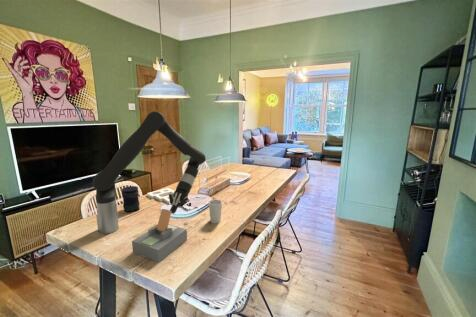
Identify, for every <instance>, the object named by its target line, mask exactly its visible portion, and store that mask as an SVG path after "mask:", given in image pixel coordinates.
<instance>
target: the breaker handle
mask: <svg viewBox="0 0 476 317" xmlns="http://www.w3.org/2000/svg"><path fill="white" fill-rule="evenodd" d="M171 212H172V211H171V210H170V209H166V208H161V211H160V215H159V218H158V222H157V224H158V226H157V230H156V233H159V234H161V233H162V232H164V231H165V230H167V228H168V224H169V223H170V219H171V214H172V213H171Z"/></svg>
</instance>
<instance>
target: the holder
mask: <svg viewBox="0 0 476 317" xmlns="http://www.w3.org/2000/svg"><path fill="white" fill-rule="evenodd" d="M175 191H176V190H173V189H171V188H169V187H167V188H162V189H157V190H154V191H150V192H147V193H146V194H147V196H146V197H149V198H150V199H151V200H154V199H156V200H157V201H158V202H165V203H166V204H168V203H169V202H170V199H169V194H173V193H174V192H175Z"/></svg>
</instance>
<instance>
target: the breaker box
mask: <svg viewBox="0 0 476 317" xmlns="http://www.w3.org/2000/svg"><path fill="white" fill-rule="evenodd" d="M157 226H158V223H157V224H155V225H154V226H152V227H151V228H149V229H148V231H146V232H144V233H143V234H142V235H140V236H138V237H136V238H135V239H133V240H131V245H132V248H131V249H132V253H133V254H135V255H139V256H141V257H144V258H146V259H149V260H152V261H155V262H157V263H160V262H161V261H163V260H164V259H165V258H166V257H167V256H169V255H170V254H171V253H173V252H174V251H175V250H176V249H177V248H178V247H180V246H181V245H183V244H184V243H185V242H186V241H187V240H188V230H187V229H186V228H184V227H180V226H176V225H172V224H168V228H167V230H165V231H164V232H162V233H161V234H159V233H156V230H157Z"/></svg>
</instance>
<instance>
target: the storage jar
mask: <svg viewBox="0 0 476 317" xmlns="http://www.w3.org/2000/svg"><path fill="white" fill-rule="evenodd" d="M139 193H140V192H139V187H138V186H134V185H132V186H125V187H122V188H121V195H122V197H121V198H122V199H123V200H122V201H123V203H122V206H123V212H124V213H126V214H133V213H136V212H138V211H139V210H141V208H140V199H139Z"/></svg>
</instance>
